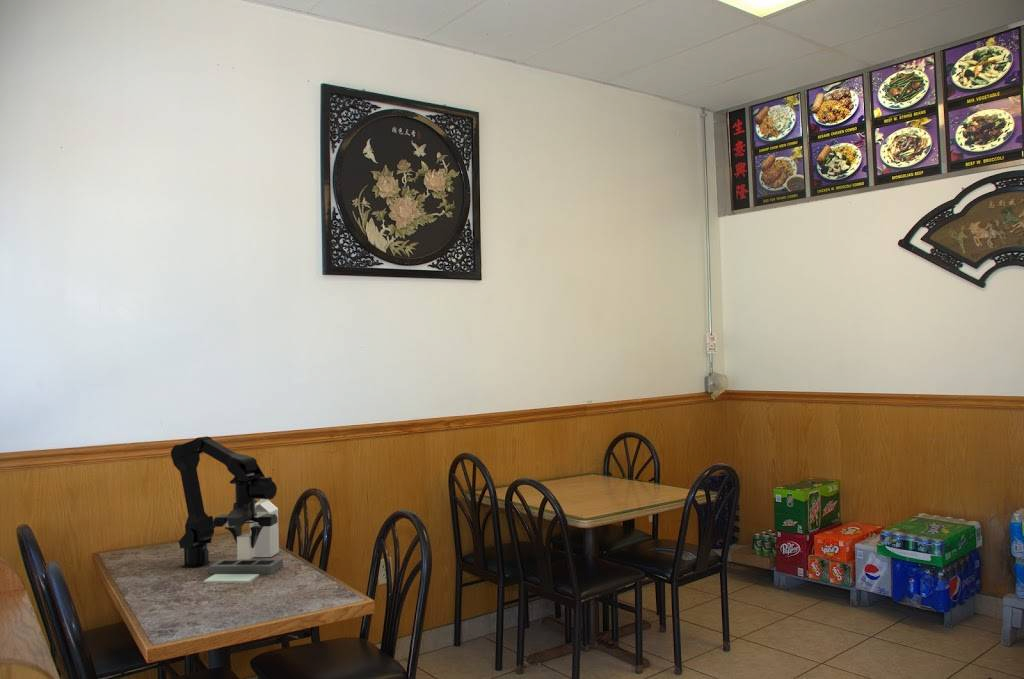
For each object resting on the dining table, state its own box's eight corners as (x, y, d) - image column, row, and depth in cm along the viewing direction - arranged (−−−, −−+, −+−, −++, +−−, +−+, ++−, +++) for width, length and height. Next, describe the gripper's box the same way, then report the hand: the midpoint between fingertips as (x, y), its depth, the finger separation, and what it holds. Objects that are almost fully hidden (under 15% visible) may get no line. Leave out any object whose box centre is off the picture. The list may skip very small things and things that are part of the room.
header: (208, 574, 239) (208, 566, 239) (222, 566, 248) (222, 558, 248) (271, 574, 237) (271, 566, 237) (282, 566, 246) (282, 558, 246)
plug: (237, 559, 241) (236, 536, 241) (243, 556, 245) (242, 533, 245) (249, 559, 240) (249, 536, 240) (255, 556, 244) (254, 533, 244)
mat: (203, 582, 230) (203, 580, 230) (215, 576, 237) (215, 574, 237) (249, 582, 228) (249, 580, 228) (259, 576, 235) (259, 574, 235)
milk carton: (279, 552, 264) (277, 496, 265) (270, 557, 257) (269, 500, 258) (259, 552, 265) (257, 496, 265) (250, 557, 258) (248, 500, 258)
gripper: (204, 503, 236) (205, 554, 235) (263, 502, 234) (264, 554, 234) (221, 496, 247) (222, 545, 247) (277, 495, 245) (278, 545, 245)
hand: (246, 547), depth 243 cm, fingers closed on plug, 4 cm apart
